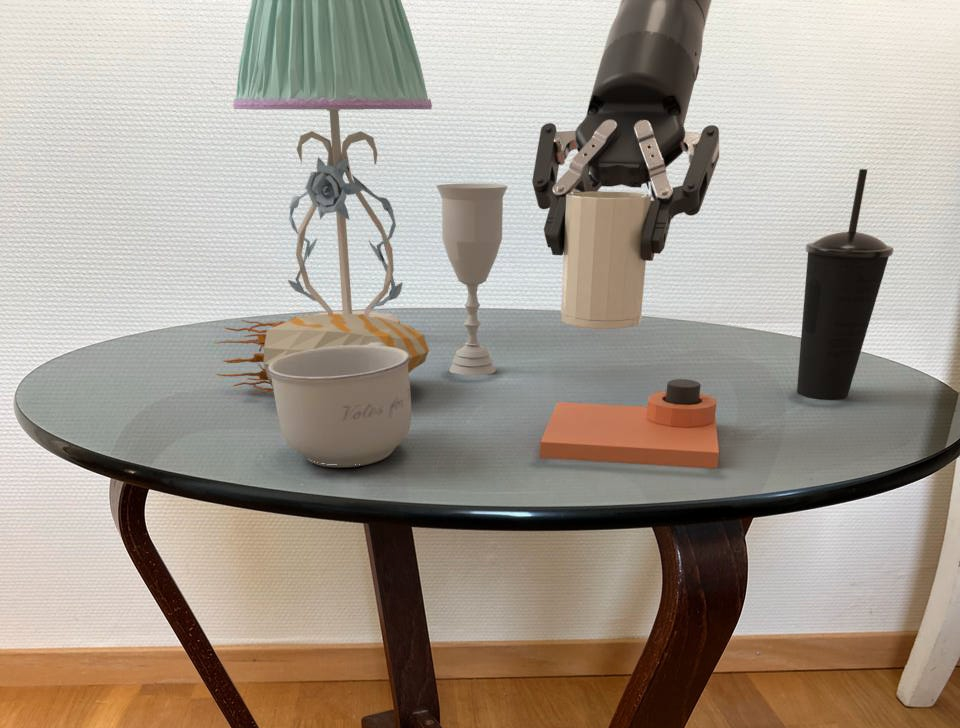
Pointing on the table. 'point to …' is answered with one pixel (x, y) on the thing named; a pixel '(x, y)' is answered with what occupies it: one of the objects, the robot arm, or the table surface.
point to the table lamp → (332, 101)
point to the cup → (603, 259)
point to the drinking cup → (838, 305)
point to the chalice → (472, 256)
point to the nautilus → (328, 339)
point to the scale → (635, 433)
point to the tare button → (683, 392)
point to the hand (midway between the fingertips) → (600, 250)
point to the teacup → (343, 402)
